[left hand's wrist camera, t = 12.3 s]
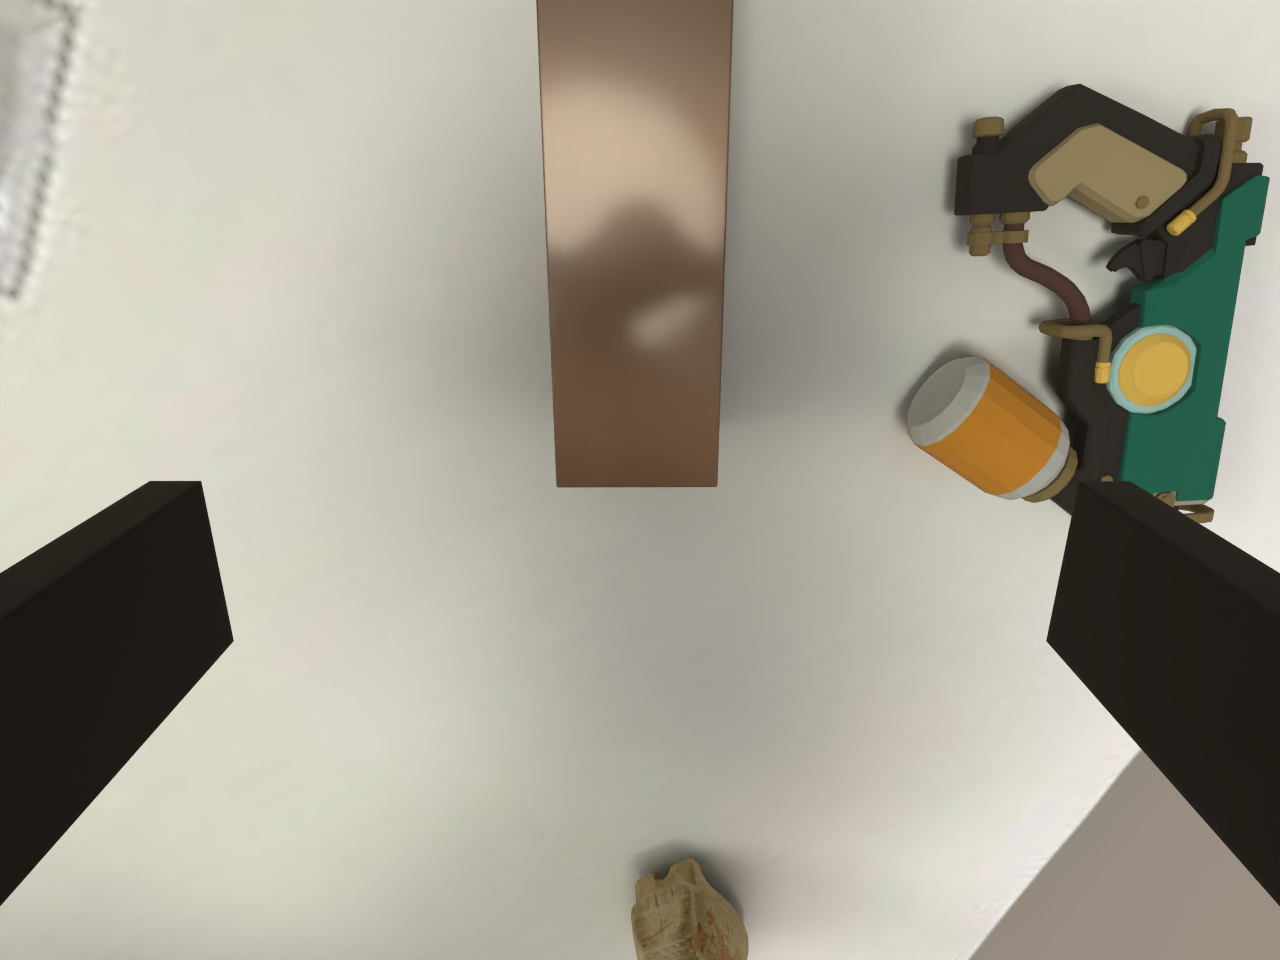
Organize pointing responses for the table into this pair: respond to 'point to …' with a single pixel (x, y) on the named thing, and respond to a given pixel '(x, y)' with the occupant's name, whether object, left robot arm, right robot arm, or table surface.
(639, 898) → the sculpture
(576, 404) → the post
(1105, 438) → the spray gun
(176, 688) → the left robot arm
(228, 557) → the table surface
